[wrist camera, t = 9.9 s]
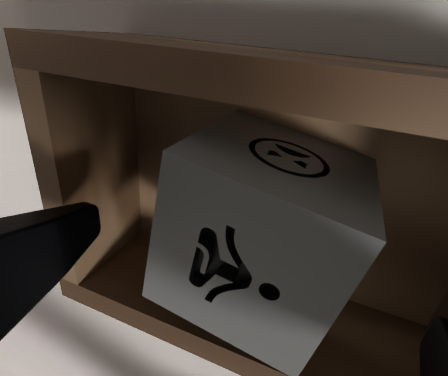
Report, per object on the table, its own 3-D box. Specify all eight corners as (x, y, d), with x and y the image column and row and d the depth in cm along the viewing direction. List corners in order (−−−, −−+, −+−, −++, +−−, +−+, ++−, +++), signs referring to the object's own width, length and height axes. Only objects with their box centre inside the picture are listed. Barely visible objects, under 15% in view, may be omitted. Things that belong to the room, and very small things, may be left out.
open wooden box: (441, 336, 13) (481, 484, 8) (135, 233, 17) (62, 295, 13) (596, 82, 8) (857, 125, 4) (123, 33, 12) (3, 27, 8)
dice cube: (237, 110, 11) (162, 150, 7) (375, 159, 10) (386, 242, 6) (209, 218, 14) (142, 295, 9) (317, 267, 12) (295, 379, 8)
